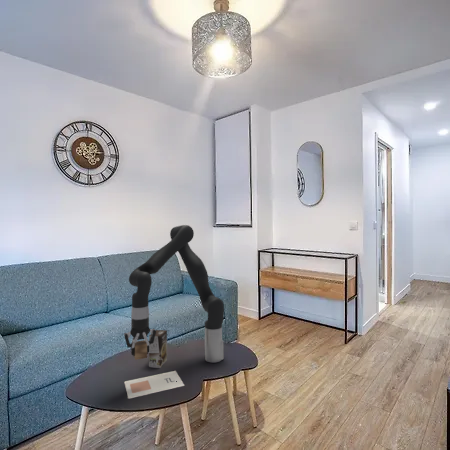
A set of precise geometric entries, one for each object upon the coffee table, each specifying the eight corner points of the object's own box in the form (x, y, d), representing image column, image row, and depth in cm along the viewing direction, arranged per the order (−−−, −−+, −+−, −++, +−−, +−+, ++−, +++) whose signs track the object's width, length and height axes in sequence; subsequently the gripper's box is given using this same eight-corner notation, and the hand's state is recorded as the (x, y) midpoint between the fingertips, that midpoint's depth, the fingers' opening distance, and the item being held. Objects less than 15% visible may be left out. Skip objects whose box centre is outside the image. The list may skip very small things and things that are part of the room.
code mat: (175, 371, 147) (175, 370, 147) (184, 386, 134) (184, 385, 134) (124, 382, 137) (124, 381, 137) (128, 399, 124) (128, 398, 124)
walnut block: (145, 353, 136) (145, 340, 136) (147, 357, 132) (147, 344, 132) (133, 355, 134) (133, 341, 134) (135, 359, 130) (135, 345, 130)
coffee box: (160, 368, 150) (160, 336, 150) (148, 367, 151) (148, 335, 151) (167, 360, 159) (167, 330, 159) (156, 359, 160) (156, 329, 160)
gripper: (154, 312, 139) (154, 348, 139) (122, 315, 133) (122, 354, 133) (158, 316, 133) (158, 354, 133) (124, 320, 127) (124, 361, 127)
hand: (140, 354), depth 133 cm, fingers closed on walnut block, 5 cm apart
